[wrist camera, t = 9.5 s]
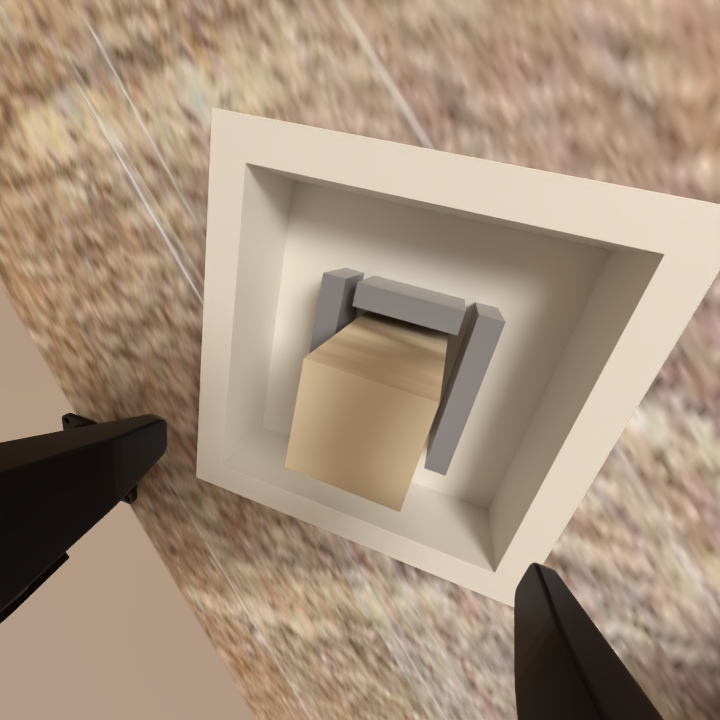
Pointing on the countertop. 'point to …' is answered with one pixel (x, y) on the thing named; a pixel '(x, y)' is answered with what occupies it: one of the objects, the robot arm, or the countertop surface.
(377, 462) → the wooden block
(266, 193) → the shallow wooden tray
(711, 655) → the countertop surface
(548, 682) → the robot arm
